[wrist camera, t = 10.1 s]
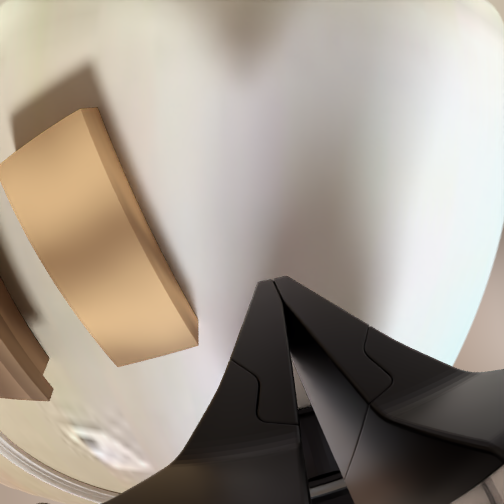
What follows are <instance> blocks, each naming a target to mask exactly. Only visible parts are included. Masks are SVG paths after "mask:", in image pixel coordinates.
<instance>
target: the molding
mask: <svg viewBox="0 0 504 504" xmlns="http://www.w3.org/2000/svg"><path fill="white" fill-rule="evenodd" d="M0 454H2V455H3V456H4V457H5V458H7V459H8V460H10V461H11V462H12V463H14V464H15V465H17V466H18V467H20V468H21V469H23V470H24V471H26V472H28V473H29V474H31V475H33V476H35V477H36V478H38V479H40V480H42V481H44V482H46V483H48V484H50V485H52V486H54V487H56V488H58V489H61V490H63V491H65V492H68V493H70V494H73V495H75V496H78V497H81V498H84V499H87V500H90V501H93V502H96V503H100V504H101V503H104V502H106V501H108V500H110V499H112V498H114V497H116V496H117V495H119V493H115V492H111V491H107V490H103V489H100V488H97V487H94V486H91V485H88V484H85V483H82V482H80V481H77V480H75V479H72V478H70V477H68V476H66V475H64V474H61V473H59V472H57V471H55V470H54V469H52V468H50V467H48V466H46V465H44V464H43V463H41V462H39V461H38V460H36V459H35V458H33V457H32V456H30V455H29V454H27V453H26V452H25V451H23V450H22V449H20V448H19V447H18V446H17V445H15V444H14V443H13V442H12V441H11V440H9V439H8V438H7V437H6V436H5V435H4V434H3V433H2V432H1V431H0Z"/></svg>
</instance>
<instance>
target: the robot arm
mask: <svg viewBox="0 0 504 504" xmlns="http://www.w3.org/2000/svg"><path fill="white" fill-rule="evenodd" d="M291 358H292V361H293V363H294V365H295V368H296V370H297V372H298V375H299V377H300V379H301V382H302V384H303V386H304V389H305V391H306V393H307V396H308V398H309V400H310V403H311V405H312V407H309V408H306V409H302V410H298V406H297V398H296V390H295V383H294V376H293V368H292V361H291ZM38 504H47V503H38ZM101 504H504V369H502V370H495V371H488V372H468V371H464V370H460V369H457V368H455V367H452V366H450V365H448V364H445V363H443V362H441V361H439V360H436V359H434V358H432V357H430V356H428V355H425V354H423V353H421V352H419V351H417V350H414V349H412V348H410V347H408V346H406V345H404V344H402V343H400V342H398V341H396V340H394V339H392V338H391V337H389V336H387V335H385V334H383V333H382V332H380V331H378V330H377V329H375V328H373V327H372V326H370V327H369V325H368V324H366V323H365V322H363V321H361V320H360V319H358V318H356V317H355V316H353V315H351V314H350V313H348V312H346V311H345V310H343V309H341V308H340V307H338V306H336V305H335V304H333V303H331V302H330V301H328V300H326V299H325V298H323V297H321V296H320V295H318V294H316V293H315V292H313V291H311V290H310V289H308V288H306V287H305V286H303V285H301V284H300V283H298V282H296V281H295V280H293V279H291V278H290V277H288V276H283V277H279V278H275V279H273V280H271V279H269V280H265V281H260V282H258V283H257V286H256V289H255V292H254V294H253V297H252V300H251V303H250V305H249V308H248V311H247V314H246V316H245V319H244V322H243V325H242V327H241V330H240V333H239V336H238V338H237V341H236V344H235V346H234V349H233V352H232V355H231V357H230V361H229V362H228V365H227V368H226V370H225V373H224V375H223V378H222V380H221V382H220V385H219V387H218V389H217V391H216V393H215V395H214V397H213V399H212V401H211V402H210V404H209V406H208V408H207V410H206V411H205V413H204V415H203V417H202V418H201V420H200V422H199V423H198V425H197V427H196V429H195V430H194V432H193V434H192V435H191V437H190V439H189V441H188V442H187V444H186V445H185V447H184V449H183V450H182V451H181V453H180V454H179V455H178V456H177V458H176V459H175V460H174V461H173V462H172V463H170V464H169V465H168V466H167V467H165V468H164V469H162V470H161V471H159V472H157V473H156V474H154V475H152V476H151V477H149V478H147V479H146V480H144V481H142V482H141V483H139V484H137V485H135V486H134V487H132V488H130V489H128V490H127V491H125V492H123V493H121V494H119V495H117V496H116V497H114V498H112V499H110V500H108V501H106V502H104V503H101Z"/></svg>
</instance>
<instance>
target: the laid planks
mask: <svg viewBox="0 0 504 504" xmlns="http://www.w3.org/2000/svg"><path fill="white" fill-rule="evenodd" d="M48 361H49V357H48V356H47V355H46V353H45V352H44V350H43V349H42V347H41V346H40V344H39V343H38V341H37V340H36V338H35V337H34V335H33V334H32V332H31V330H30V329H29V327H28V326H27V324H26V322H25V321H24V319H23V317H22V316H21V314H20V312H19V311H18V309H17V307H16V305H15V304H14V302H13V300H12V298H11V296H10V295H9V293H8V291H7V289H6V287H5V285H4V283H3V281H2V279H1V277H0V398H7V399H18V400H34V401H50V398H51V395H52V392H53V388H52V386H51V385H50V384H49V383H48V381H47V380H46V379H45V378H44V376H43V373H44V371H45V368H46V366H47V363H48Z"/></svg>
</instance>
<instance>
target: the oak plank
mask: <svg viewBox="0 0 504 504" xmlns="http://www.w3.org/2000/svg"><path fill="white" fill-rule="evenodd" d="M0 181H1V184H2V186H3V188H4V191H5V193H6V195H7V197H8V199H9V202H10V204H11V206H12V208H13V210H14V212H15V214H16V216H17V218H18V220H19V222H20V224H21V226H22V228H23V230H24V232H25V234H26V236H27V237H28V239H29V241H30V243H31V245H32V247H33V248H34V250H35V252H36V254H37V255H38V257H39V259H40V260H41V262H42V264H43V265H44V267H45V269H46V270H47V272H48V274H49V275H50V277H51V278H52V280H53V281H54V283H55V285H56V286H57V288H58V289H59V291H60V292H61V294H62V295H63V297H64V298H65V300H66V301H67V303H68V304H69V305H70V307H71V308H72V310H73V311H74V312H75V314H76V315H77V317H78V318H79V319H80V321H81V322H82V323H83V325H84V326H85V327H86V329H87V330H88V331H89V333H90V334H91V335H92V337H93V338H94V339H95V340H96V342H97V343H98V344H99V345H100V347H101V348H102V349H103V350H104V352H105V353H106V354H107V355H108V356H109V358H110V359H111V360H112V361H113V362H114V364H115V365H116V366H117V367H120V366H124V365H128V364H132V363H136V362H140V361H144V360H148V359H152V358H156V357H159V356H163V355H167V354H170V353H174V352H178V351H181V350H185V349H188V348H192V347H195V346H198V319H197V317H196V316H195V314H194V312H193V310H192V308H191V307H190V305H189V303H188V301H187V299H186V298H185V296H184V294H183V292H182V290H181V288H180V287H179V285H178V283H177V281H176V279H175V277H174V275H173V273H172V272H171V270H170V268H169V266H168V264H167V262H166V260H165V258H164V256H163V254H162V252H161V250H160V248H159V246H158V244H157V242H156V240H155V238H154V236H153V234H152V232H151V230H150V228H149V226H148V224H147V222H146V220H145V217H144V215H143V213H142V211H141V209H140V207H139V205H138V203H137V200H136V198H135V196H134V194H133V192H132V189H131V187H130V185H129V183H128V180H127V178H126V176H125V174H124V171H123V169H122V167H121V164H120V162H119V160H118V157H117V155H116V152H115V150H114V148H113V145H112V143H111V140H110V138H109V135H108V133H107V130H106V128H105V125H104V123H103V120H102V117H101V115H100V112H99V110H98V107H95V108H81V109H79V110H77V111H75V112H74V113H72V114H70V115H69V116H67V117H65V118H64V119H62V120H61V121H59V122H58V123H56V124H54V125H53V126H51V127H50V128H48V129H47V130H45V131H44V132H42V133H41V134H39V135H38V136H37V137H35V138H34V139H32V140H31V141H29V142H28V143H27V144H25V145H24V146H23V147H21V148H20V149H19V150H17V151H16V152H15V153H13V154H12V155H11V156H9V157H8V158H7V159H6V160H4V161H3V162H2V163H1V164H0Z"/></svg>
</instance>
